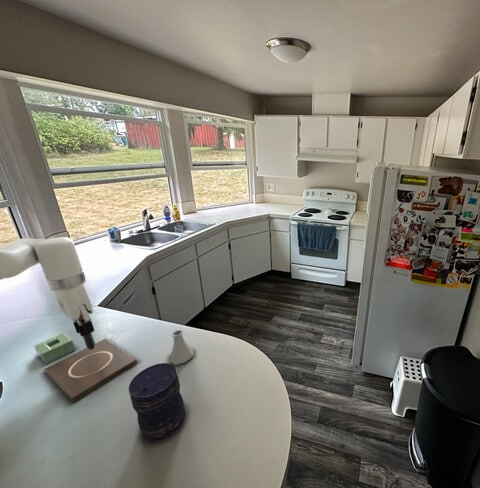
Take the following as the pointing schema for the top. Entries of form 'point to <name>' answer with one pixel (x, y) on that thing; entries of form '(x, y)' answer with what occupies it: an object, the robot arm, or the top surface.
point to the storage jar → (157, 401)
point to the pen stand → (54, 348)
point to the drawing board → (89, 368)
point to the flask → (180, 349)
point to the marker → (89, 340)
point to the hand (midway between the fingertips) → (85, 331)
